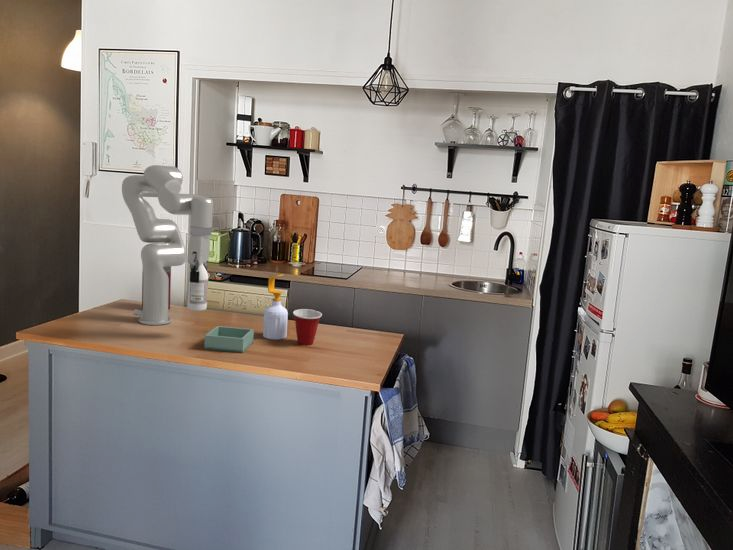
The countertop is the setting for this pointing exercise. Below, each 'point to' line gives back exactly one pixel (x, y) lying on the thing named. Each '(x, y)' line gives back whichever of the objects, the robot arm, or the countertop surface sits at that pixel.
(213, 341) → the tub
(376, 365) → the countertop surface
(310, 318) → the plastic cup
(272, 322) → the soap bottle
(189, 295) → the bath foam
